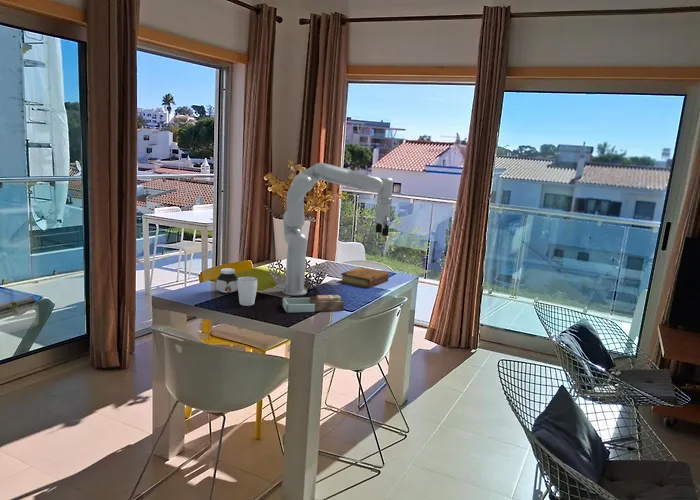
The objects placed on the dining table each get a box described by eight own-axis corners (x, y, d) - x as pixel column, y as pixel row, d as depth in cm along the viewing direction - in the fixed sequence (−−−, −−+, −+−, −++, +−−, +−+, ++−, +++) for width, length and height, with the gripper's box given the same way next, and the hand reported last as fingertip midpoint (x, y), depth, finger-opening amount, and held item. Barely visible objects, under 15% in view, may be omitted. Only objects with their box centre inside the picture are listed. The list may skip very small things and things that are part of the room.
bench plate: (314, 311, 245) (314, 302, 244) (309, 305, 254) (310, 296, 253) (343, 310, 249) (344, 301, 249) (338, 304, 258) (338, 296, 257)
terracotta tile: (318, 303, 247) (319, 298, 247) (316, 300, 252) (316, 295, 252) (329, 303, 249) (329, 298, 248) (326, 300, 254) (326, 295, 253)
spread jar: (215, 294, 262) (215, 270, 260) (221, 288, 273) (221, 265, 271) (239, 295, 262) (240, 272, 259) (244, 289, 273) (245, 267, 270)
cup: (257, 301, 254) (258, 277, 252) (255, 307, 245) (256, 281, 243) (238, 300, 254) (239, 275, 251) (235, 306, 245) (236, 280, 242)
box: (286, 312, 240) (286, 305, 240) (282, 305, 251) (282, 298, 250) (314, 311, 244) (315, 304, 244) (309, 304, 255) (309, 297, 254)
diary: (369, 289, 293) (370, 279, 292) (340, 283, 302) (341, 273, 301) (388, 281, 312) (388, 272, 311) (360, 276, 321) (360, 266, 320)
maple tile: (330, 303, 249) (330, 298, 248) (327, 300, 254) (327, 295, 253) (340, 303, 250) (341, 297, 250) (337, 299, 255) (338, 294, 255)
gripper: (372, 199, 285) (369, 231, 288) (383, 203, 269) (380, 236, 272) (385, 200, 288) (382, 231, 291) (397, 203, 271) (394, 237, 274)
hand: (381, 234), depth 281 cm, fingers open, 9 cm apart
